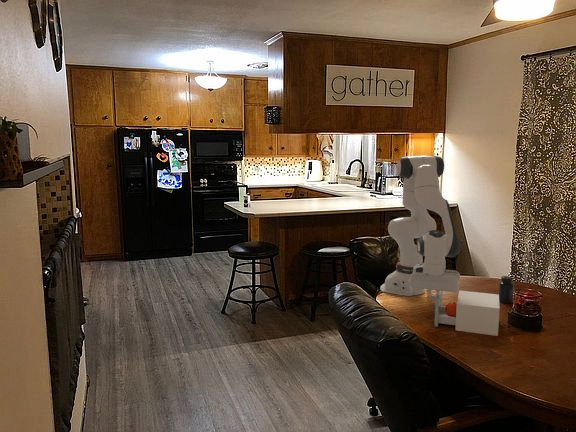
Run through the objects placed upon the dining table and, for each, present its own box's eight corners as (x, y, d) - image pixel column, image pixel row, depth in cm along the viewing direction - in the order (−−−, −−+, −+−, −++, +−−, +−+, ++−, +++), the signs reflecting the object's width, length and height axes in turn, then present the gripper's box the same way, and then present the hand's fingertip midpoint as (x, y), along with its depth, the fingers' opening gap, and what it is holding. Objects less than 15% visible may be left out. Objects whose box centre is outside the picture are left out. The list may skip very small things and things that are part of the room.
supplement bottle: (510, 299, 230) (511, 275, 228) (515, 303, 223) (517, 279, 221) (495, 298, 230) (497, 275, 228) (500, 303, 224) (502, 279, 222)
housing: (455, 330, 194) (456, 303, 192) (458, 315, 210) (459, 290, 208) (497, 336, 187) (499, 308, 186) (497, 319, 204) (498, 294, 202)
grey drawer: (430, 325, 197) (431, 301, 196) (435, 311, 214) (436, 288, 212) (471, 331, 191) (472, 305, 189) (472, 315, 208) (473, 292, 206)
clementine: (439, 317, 203) (440, 302, 201) (446, 313, 208) (446, 297, 207) (458, 322, 197) (458, 306, 196) (464, 317, 203) (464, 301, 201)
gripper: (460, 268, 201) (459, 299, 203) (411, 264, 209) (410, 294, 211) (459, 272, 195) (458, 304, 197) (409, 268, 203) (408, 298, 205)
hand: (433, 299), depth 204 cm, fingers closed
